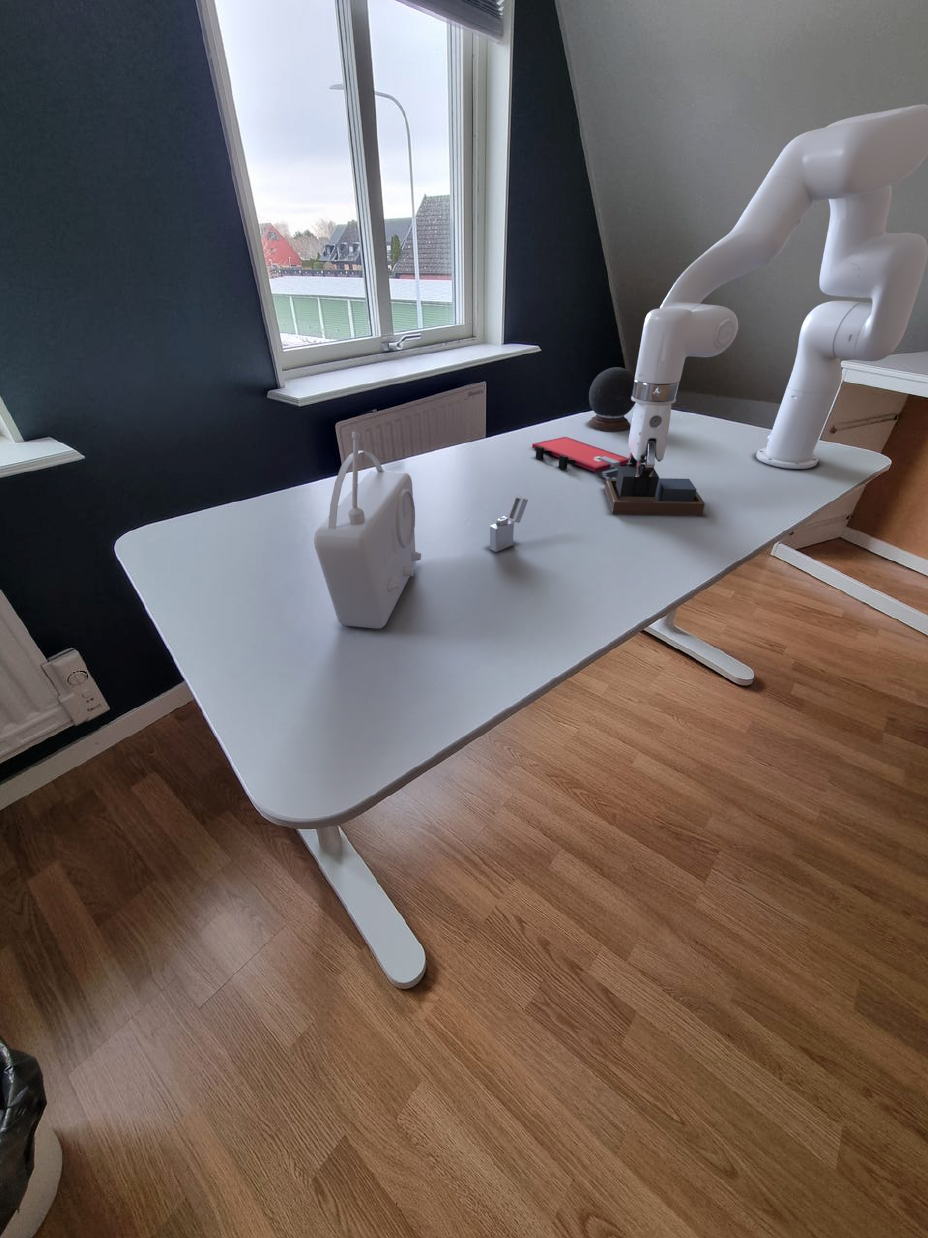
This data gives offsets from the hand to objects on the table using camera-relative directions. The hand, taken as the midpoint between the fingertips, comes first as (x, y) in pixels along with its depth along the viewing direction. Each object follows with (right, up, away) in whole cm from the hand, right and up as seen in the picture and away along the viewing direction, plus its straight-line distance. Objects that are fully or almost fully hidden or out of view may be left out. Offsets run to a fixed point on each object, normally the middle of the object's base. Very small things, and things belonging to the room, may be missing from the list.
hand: (635, 488), depth 98 cm
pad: (+8, -2, +1) cm, 8 cm away
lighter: (-26, -13, -11) cm, 31 cm away
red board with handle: (-5, +12, +21) cm, 24 cm away
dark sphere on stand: (+8, +30, +45) cm, 54 cm away
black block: (0, 0, 0) cm, 1 cm away
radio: (-46, -22, -23) cm, 56 cm away
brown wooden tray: (+3, -2, +1) cm, 4 cm away
